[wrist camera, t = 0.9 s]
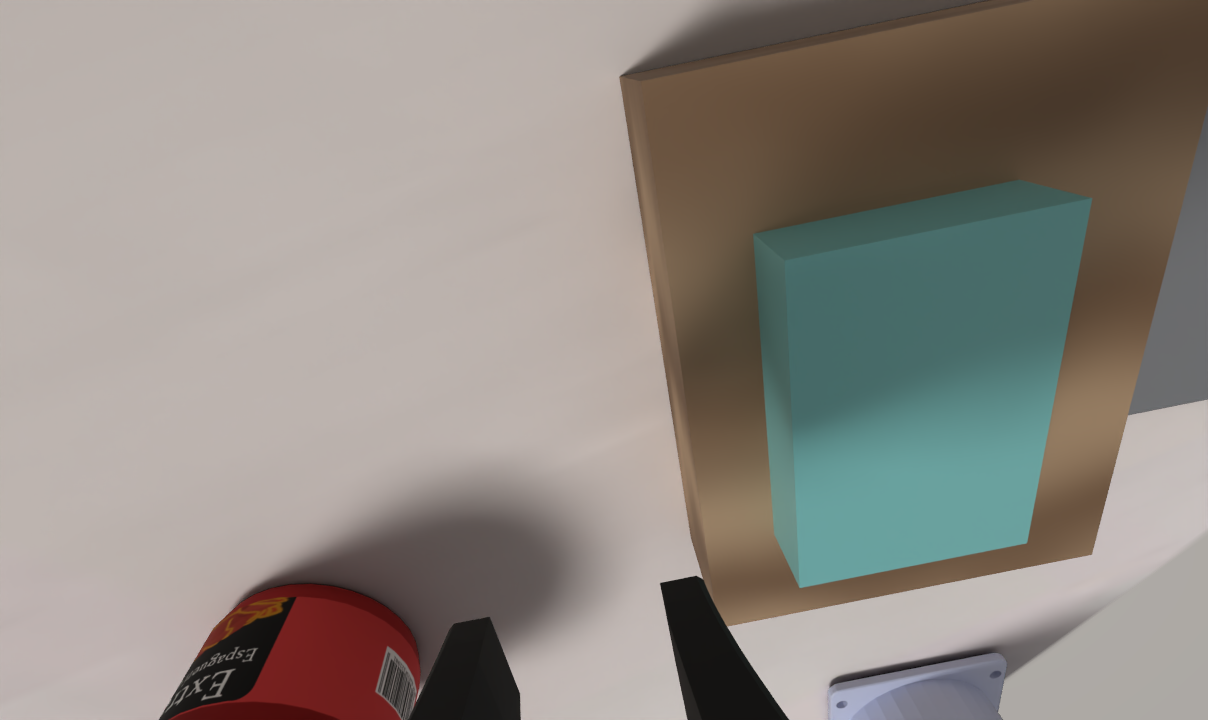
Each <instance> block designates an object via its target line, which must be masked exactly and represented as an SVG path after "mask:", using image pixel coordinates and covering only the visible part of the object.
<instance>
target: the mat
mask: <svg viewBox="0 0 1208 720" xmlns="http://www.w3.org/2000/svg"><path fill="white" fill-rule="evenodd" d="M1207 399H1208V107H1207V111H1206V115H1205V119H1204V123H1203V127H1202V131H1201V134H1200V138H1199V142H1198V146H1197V150H1196V154H1195V158H1194V162H1193V165H1192V169H1191V173H1190V177H1189V181H1188V185H1187V189H1186V192H1185V196H1184V200H1183V204H1182V208H1181V212H1180V216H1179V219H1178V223H1177V227H1176V231H1175V235H1174V239H1173V243H1172V246H1171V250H1170V254H1169V258H1168V262H1167V266H1166V270H1165V274H1164V277H1163V281H1162V285H1161V289H1160V293H1159V297H1158V301H1157V304H1156V308H1155V312H1154V316H1153V320H1152V324H1151V328H1150V331H1149V335H1148V339H1147V343H1146V347H1145V351H1144V355H1143V359H1142V362H1141V366H1140V370H1139V374H1138V378H1137V382H1136V386H1135V389H1134V393H1133V397H1132V401H1131V405H1130V409H1129V413H1128V415H1132V414H1137V413H1142V412H1147V411H1152V410H1157V409H1162V408H1167V407H1172V406H1177V405H1182V404H1187V403H1192V402H1197V401H1202V400H1207Z"/></svg>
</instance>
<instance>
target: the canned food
mask: <svg viewBox="0 0 1208 720" xmlns="http://www.w3.org/2000/svg"><path fill="white" fill-rule="evenodd" d="M420 673H421V671H420V663H419V655H418V650H417V645H416V641H415V639H414V637H413V635H412V633H411V631H410V629H409V628H408V627H407V626H406V625H405V624H404V622H403V621H402V620H401V619H400V618H399V617H398V616H397V615H396V614H394V613H393V612H392V611H391V610H389V609H388V608H387V607H385V606H384V605H382V604H380V603H378V602H376V601H375V600H373V599H371V598H369V597H366V596H364V595H361V594H359V593H356V592H354V591H351V590H346V589H342V588H338V587H334V586H326V585H316V584H295V585H286V586H281V587H275V588H271V589H268V590H265V591H262V592H260V593H257V594H254V595H253V596H251V597H249V598H248V599H246V600H244V601H243V602H241V603H240V604H239V605H238V606H237V607H236V608H234V609H233V610H232V611H231V612H230V613H229V614H228V615H227V616H226V617H225V618H224V619H223V620H222V621H220V622H219V623H218V624H217V625H216V626H215V627H214V628H213V630H212V632H211V633H210V635H209V637H208V638H207V640H206V642H205V643H204V645H203V647H202V648H201V650H200V652H199V653H198V655H197V657H196V658H195V660H194V662H193V664H192V665H191V667H190V669H189V670H188V672H187V674H186V675H185V677H184V679H183V680H182V682H181V684H180V685H179V687H178V689H177V690H176V692H175V694H174V695H173V697H172V699H171V700H170V702H169V704H168V705H167V707H166V709H165V710H164V712H163V714H162V715H161V717H160V719H159V720H408V718H409V716H410V714H411V712H412V710H413V708H414V706H415V704H416V699H417V694H418V690H419V684H420Z"/></svg>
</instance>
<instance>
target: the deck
mask: <svg viewBox="0 0 1208 720" xmlns="http://www.w3.org/2000/svg"><path fill="white" fill-rule="evenodd" d="M620 83H621V89H622V96H623V102H624V109H625V115H626V122H627V128H628V134H629V141H630V147H631V154H632V160H633V167H634V173H635V180H636V186H637V192H638V199H639V205H640V212H641V218H642V225H643V231H644V238H645V244H646V250H647V257H648V263H649V270H650V276H651V283H652V289H653V296H654V302H655V308H656V315H657V321H658V328H659V334H660V341H661V347H662V354H663V360H664V366H665V373H666V379H667V386H668V392H669V399H670V405H671V412H672V418H673V424H674V431H675V437H676V444H677V450H678V457H679V463H680V470H681V476H682V482H683V489H684V495H685V502H686V508H687V515H688V521H689V527H690V534H691V539H692V543H693V546H694V550H695V553H696V556H697V560H698V563H699V566H700V570H701V573H702V577H703V580H704V582H705V585H706V587H707V589H708V592H709V594H710V596H711V598H712V600H713V602H714V604H715V606H716V608H717V610H718V612H719V613H720V615H721V617H722V619H723V621H724V622H725V624H726V626H732V625H737V624H742V623H747V622H752V621H757V620H762V619H767V618H772V617H777V616H783V615H788V614H793V613H798V612H803V611H808V610H813V609H818V608H823V607H828V606H833V605H838V604H843V603H848V602H854V601H859V600H864V599H869V598H874V597H879V596H884V595H889V594H894V593H899V592H904V591H909V590H914V589H920V588H925V587H930V586H935V585H940V584H945V583H950V582H955V581H960V580H965V579H970V578H975V577H980V576H985V575H991V574H996V573H1001V572H1006V571H1011V570H1016V569H1021V568H1026V567H1031V566H1036V565H1041V564H1046V563H1051V562H1057V561H1062V560H1067V559H1072V558H1077V557H1082V556H1087V555H1092V552H1093V548H1094V544H1095V540H1096V536H1097V532H1098V528H1099V525H1100V521H1101V517H1102V513H1103V509H1104V505H1105V501H1106V498H1107V494H1108V490H1109V486H1110V482H1111V478H1112V474H1113V471H1114V467H1115V463H1116V459H1117V455H1118V451H1119V447H1120V443H1121V440H1122V436H1123V432H1124V428H1125V424H1126V420H1127V416H1128V413H1129V409H1130V405H1131V401H1132V397H1133V393H1134V389H1135V386H1136V382H1137V378H1138V374H1139V370H1140V366H1141V362H1142V359H1143V355H1144V351H1145V347H1146V343H1147V339H1148V335H1149V331H1150V328H1151V324H1152V320H1153V316H1154V312H1155V308H1156V304H1157V301H1158V297H1159V293H1160V289H1161V285H1162V281H1163V277H1164V274H1165V270H1166V266H1167V262H1168V258H1169V254H1170V250H1171V246H1172V243H1173V239H1174V235H1175V231H1176V227H1177V223H1178V219H1179V216H1180V212H1181V208H1182V204H1183V200H1184V196H1185V192H1186V189H1187V185H1188V181H1189V177H1190V173H1191V169H1192V165H1193V162H1194V158H1195V154H1196V150H1197V146H1198V142H1199V138H1200V134H1201V131H1202V127H1203V123H1204V119H1205V115H1206V111H1207V107H1208V0H988V1H983V2H978V3H974V4H969V5H964V6H959V7H954V8H949V9H944V10H940V11H935V12H930V13H925V14H920V15H915V16H911V17H906V18H901V19H896V20H891V21H886V22H881V23H877V24H872V25H867V26H862V27H857V28H852V29H847V30H843V31H838V32H833V33H828V34H823V35H818V36H814V37H809V38H804V39H799V40H794V41H789V42H784V43H780V44H775V45H770V46H765V47H760V48H755V49H751V50H746V51H741V52H736V53H731V54H726V55H721V56H717V57H712V58H707V59H702V60H697V61H692V62H687V63H683V64H678V65H673V66H668V67H663V68H658V69H654V70H649V71H644V72H639V73H634V74H629V75H624V76H620ZM1015 180H1023V181H1027V182H1030V183H1034V184H1038V185H1042V186H1046V187H1050V188H1054V189H1058V190H1062V191H1066V192H1070V193H1074V194H1078V195H1082V196H1086V197H1090V198H1092V203H1091V208H1090V213H1089V219H1088V224H1087V229H1086V234H1085V240H1084V245H1083V250H1082V256H1081V261H1080V266H1079V271H1078V277H1077V282H1076V287H1075V293H1074V298H1073V303H1072V308H1071V314H1070V319H1069V324H1068V330H1067V335H1066V340H1065V345H1064V351H1063V356H1062V361H1061V366H1060V372H1059V377H1058V382H1057V388H1056V393H1055V398H1054V403H1053V409H1052V414H1051V419H1050V425H1049V430H1048V435H1047V440H1046V446H1045V451H1044V456H1043V462H1042V467H1041V472H1040V477H1039V483H1038V488H1037V493H1036V499H1035V504H1034V509H1033V514H1032V520H1031V525H1030V530H1029V535H1028V541H1027V543H1026V544H1021V545H1016V546H1011V547H1006V548H1001V549H995V550H990V551H985V552H980V553H975V554H970V555H965V556H960V557H955V558H950V559H945V560H940V561H935V562H930V563H925V564H920V565H914V566H909V567H904V568H899V569H894V570H889V571H884V572H879V573H874V574H869V575H864V576H859V577H854V578H849V579H844V580H838V581H833V582H828V583H823V584H818V585H813V586H808V587H803V588H799V585H798V583H797V581H796V579H795V577H794V575H793V573H792V571H791V569H790V567H789V564H788V562H787V560H786V558H785V556H784V554H783V552H782V550H781V548H780V545H779V543H778V541H777V539H776V537H775V535H774V525H773V511H772V497H771V483H770V468H769V454H768V440H767V426H766V411H765V397H764V383H763V368H762V354H761V340H760V326H759V311H758V297H757V283H756V269H755V254H754V240H753V234H755V233H760V232H764V231H769V230H774V229H779V228H784V227H789V226H794V225H799V224H804V223H809V222H814V221H819V220H824V219H828V218H833V217H838V216H843V215H848V214H853V213H858V212H863V211H868V210H873V209H878V208H883V207H887V206H892V205H897V204H902V203H907V202H912V201H917V200H922V199H927V198H932V197H937V196H942V195H946V194H951V193H956V192H961V191H966V190H971V189H976V188H981V187H986V186H991V185H996V184H1001V183H1006V182H1010V181H1015Z"/></svg>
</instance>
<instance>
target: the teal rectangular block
mask: <svg viewBox="0 0 1208 720" xmlns="http://www.w3.org/2000/svg"><path fill="white" fill-rule="evenodd" d="M1091 203H1092V198H1090V197H1086V196H1082V195H1078V194H1074V193H1070V192H1066V191H1062V190H1058V189H1054V188H1050V187H1046V186H1042V185H1038V184H1034V183H1030V182H1027V181H1023V180H1015V181H1010V182H1006V183H1001V184H996V185H991V186H986V187H981V188H976V189H971V190H966V191H961V192H956V193H951V194H946V195H942V196H937V197H932V198H927V199H922V200H917V201H912V202H907V203H902V204H897V205H892V206H887V207H883V208H878V209H873V210H868V211H863V212H858V213H853V214H848V215H843V216H838V217H833V218H828V219H824V220H819V221H814V222H809V223H804V224H799V225H794V226H789V227H784V228H779V229H774V230H769V231H764V232H760V233H755V234H753V240H754V254H755V269H756V283H757V297H758V311H759V326H760V340H761V354H762V368H763V383H764V397H765V411H766V426H767V440H768V454H769V468H770V483H771V497H772V511H773V525H774V535H775V537H776V539H777V541H778V543H779V545H780V548H781V550H782V552H783V554H784V556H785V558H786V560H787V562H788V564H789V567H790V569H791V571H792V573H793V575H794V577H795V579H796V581H797V583H798V585H799V588H803V587H808V586H813V585H818V584H823V583H828V582H833V581H838V580H844V579H849V578H854V577H859V576H864V575H869V574H874V573H879V572H884V571H889V570H894V569H899V568H904V567H909V566H914V565H920V564H925V563H930V562H935V561H940V560H945V559H950V558H955V557H960V556H965V555H970V554H975V553H980V552H985V551H990V550H995V549H1001V548H1006V547H1011V546H1016V545H1021V544H1026V543H1027V541H1028V535H1029V530H1030V525H1031V520H1032V514H1033V509H1034V504H1035V499H1036V493H1037V488H1038V483H1039V477H1040V472H1041V467H1042V462H1043V456H1044V451H1045V446H1046V440H1047V435H1048V430H1049V425H1050V419H1051V414H1052V409H1053V403H1054V398H1055V393H1056V388H1057V382H1058V377H1059V372H1060V366H1061V361H1062V356H1063V351H1064V345H1065V340H1066V335H1067V330H1068V324H1069V319H1070V314H1071V308H1072V303H1073V298H1074V293H1075V287H1076V282H1077V277H1078V271H1079V266H1080V261H1081V256H1082V250H1083V245H1084V240H1085V234H1086V229H1087V224H1088V219H1089V213H1090V208H1091Z"/></svg>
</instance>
